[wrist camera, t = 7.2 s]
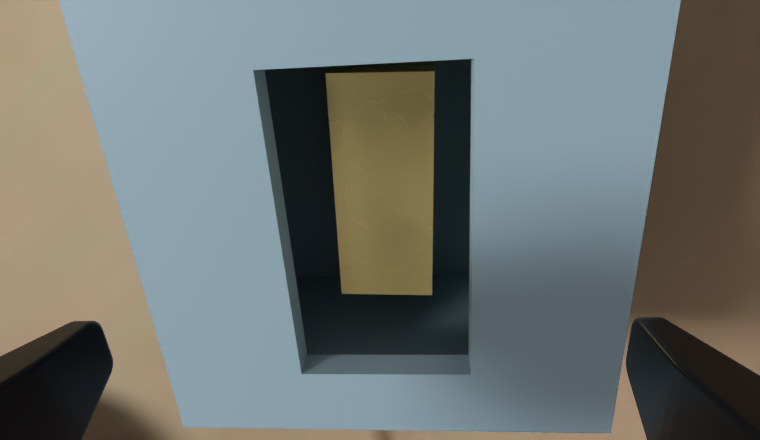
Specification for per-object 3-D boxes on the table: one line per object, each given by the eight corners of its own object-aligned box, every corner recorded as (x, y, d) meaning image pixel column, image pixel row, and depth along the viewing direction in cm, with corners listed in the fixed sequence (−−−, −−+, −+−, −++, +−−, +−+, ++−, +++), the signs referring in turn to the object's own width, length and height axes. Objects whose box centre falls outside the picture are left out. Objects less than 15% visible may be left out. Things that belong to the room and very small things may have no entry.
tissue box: (554, 291, 21) (610, 433, 15) (253, 294, 22) (184, 427, 16) (585, -57, 16) (692, -70, 9) (190, -29, 17) (51, -25, 11)
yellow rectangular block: (430, 217, 19) (432, 295, 15) (361, 217, 19) (341, 293, 15) (432, 42, 17) (434, 71, 12) (351, 43, 17) (325, 73, 12)
